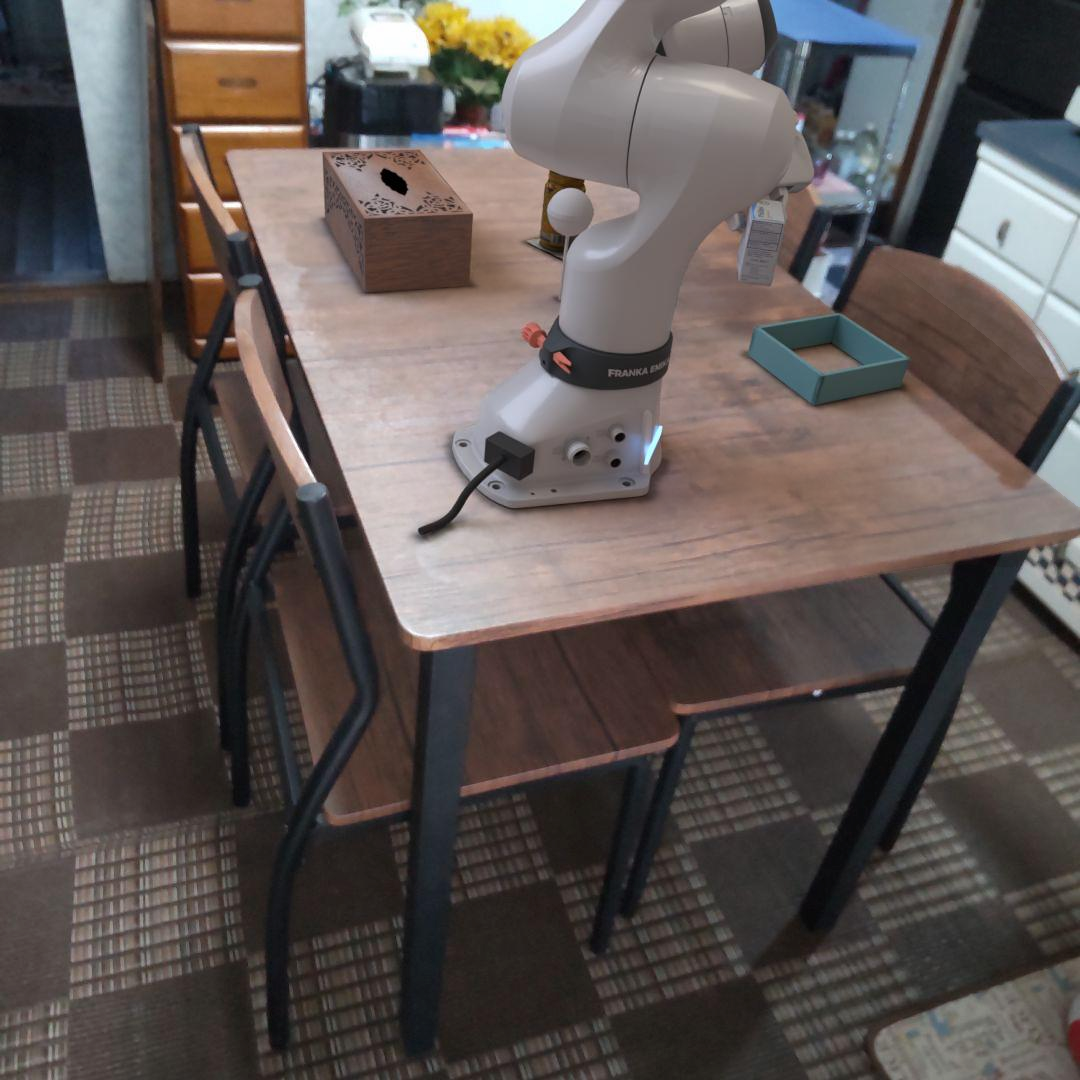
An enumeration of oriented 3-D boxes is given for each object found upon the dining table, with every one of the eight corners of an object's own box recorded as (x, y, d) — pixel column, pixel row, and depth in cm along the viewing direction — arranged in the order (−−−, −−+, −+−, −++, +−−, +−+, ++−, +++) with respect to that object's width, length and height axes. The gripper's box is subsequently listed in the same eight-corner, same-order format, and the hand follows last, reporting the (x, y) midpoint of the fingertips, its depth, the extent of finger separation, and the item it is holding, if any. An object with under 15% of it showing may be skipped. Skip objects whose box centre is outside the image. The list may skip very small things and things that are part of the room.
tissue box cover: (325, 219, 150) (322, 151, 144) (418, 215, 155) (419, 149, 148) (365, 292, 131) (364, 218, 125) (469, 285, 136) (473, 213, 130)
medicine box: (771, 288, 129) (787, 222, 124) (736, 282, 129) (751, 217, 124) (768, 264, 135) (783, 201, 130) (735, 259, 135) (749, 196, 130)
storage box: (813, 405, 119) (822, 376, 116) (747, 355, 128) (754, 326, 125) (900, 387, 125) (910, 358, 122) (831, 339, 134) (839, 312, 131)
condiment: (560, 233, 154) (568, 154, 147) (599, 252, 150) (610, 171, 142) (525, 242, 150) (532, 161, 143) (564, 262, 146) (574, 180, 138)
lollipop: (560, 286, 139) (573, 178, 130) (591, 302, 136) (606, 192, 127) (528, 296, 135) (539, 186, 126) (559, 313, 132) (572, 201, 123)
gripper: (679, 117, 124) (708, 223, 124) (806, 110, 133) (833, 210, 132) (654, 143, 130) (682, 244, 129) (777, 134, 138) (803, 230, 138)
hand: (759, 226), depth 131 cm, fingers closed on medicine box, 5 cm apart
